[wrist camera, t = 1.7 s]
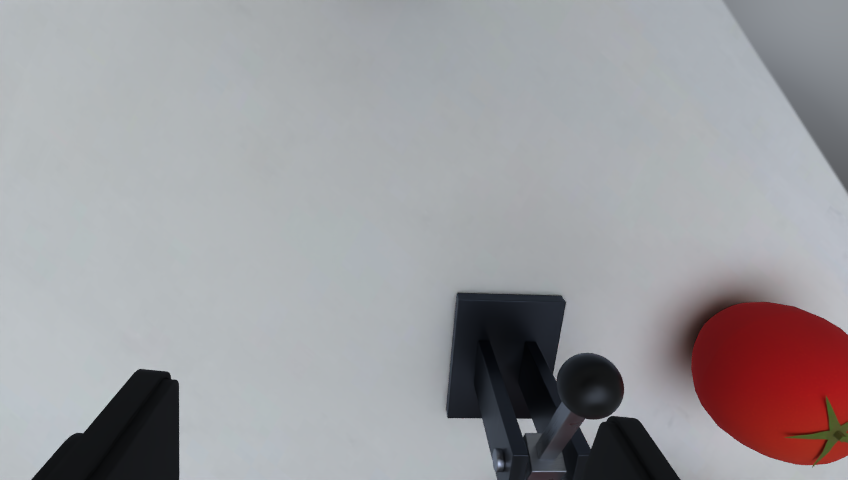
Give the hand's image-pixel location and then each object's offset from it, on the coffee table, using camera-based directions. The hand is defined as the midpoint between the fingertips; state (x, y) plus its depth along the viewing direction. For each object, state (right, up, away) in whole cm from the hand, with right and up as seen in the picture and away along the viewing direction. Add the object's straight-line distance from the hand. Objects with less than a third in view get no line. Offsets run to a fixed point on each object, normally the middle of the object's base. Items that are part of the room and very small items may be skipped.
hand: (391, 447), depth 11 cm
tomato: (+28, -4, +33) cm, 43 cm away
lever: (+9, -5, +18) cm, 21 cm away
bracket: (+8, -6, +32) cm, 33 cm away
